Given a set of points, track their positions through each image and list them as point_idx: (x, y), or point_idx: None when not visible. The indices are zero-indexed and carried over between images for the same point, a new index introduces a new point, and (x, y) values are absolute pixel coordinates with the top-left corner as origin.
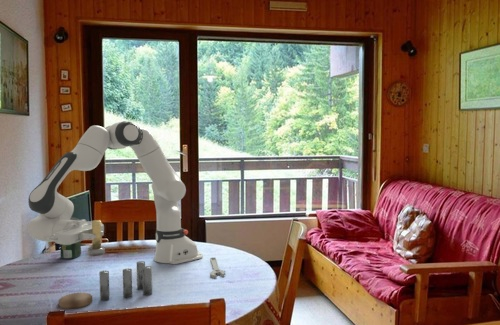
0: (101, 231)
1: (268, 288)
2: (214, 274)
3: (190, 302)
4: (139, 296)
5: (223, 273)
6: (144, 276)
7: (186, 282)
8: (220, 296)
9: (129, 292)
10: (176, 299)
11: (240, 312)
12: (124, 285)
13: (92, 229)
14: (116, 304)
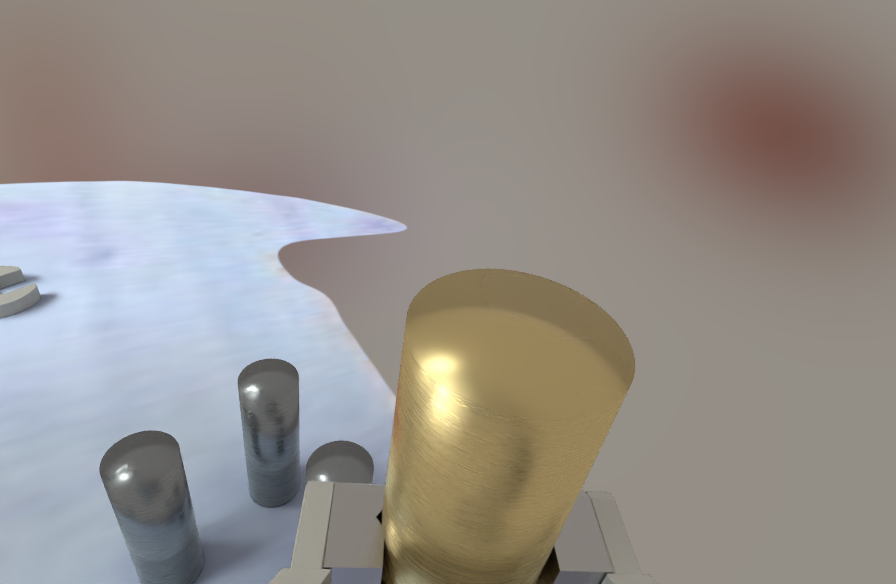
0: (344, 491)
1: (185, 187)
2: (18, 290)
3: (338, 314)
4: None
5: (11, 267)
6: (297, 417)
7: (86, 379)
8: (266, 260)
9: None
10: (320, 356)
11: (374, 219)
12: None
13: (570, 510)
14: None
